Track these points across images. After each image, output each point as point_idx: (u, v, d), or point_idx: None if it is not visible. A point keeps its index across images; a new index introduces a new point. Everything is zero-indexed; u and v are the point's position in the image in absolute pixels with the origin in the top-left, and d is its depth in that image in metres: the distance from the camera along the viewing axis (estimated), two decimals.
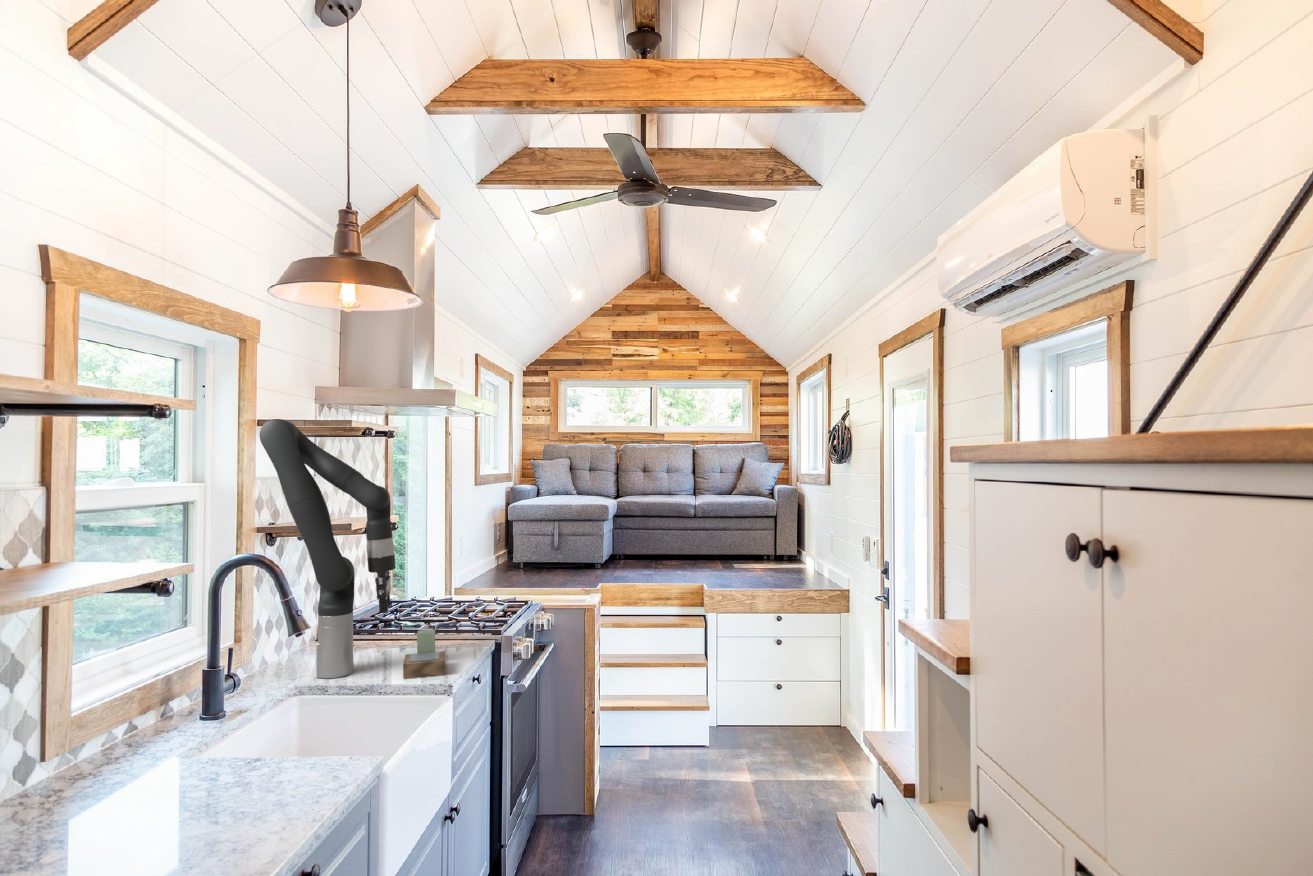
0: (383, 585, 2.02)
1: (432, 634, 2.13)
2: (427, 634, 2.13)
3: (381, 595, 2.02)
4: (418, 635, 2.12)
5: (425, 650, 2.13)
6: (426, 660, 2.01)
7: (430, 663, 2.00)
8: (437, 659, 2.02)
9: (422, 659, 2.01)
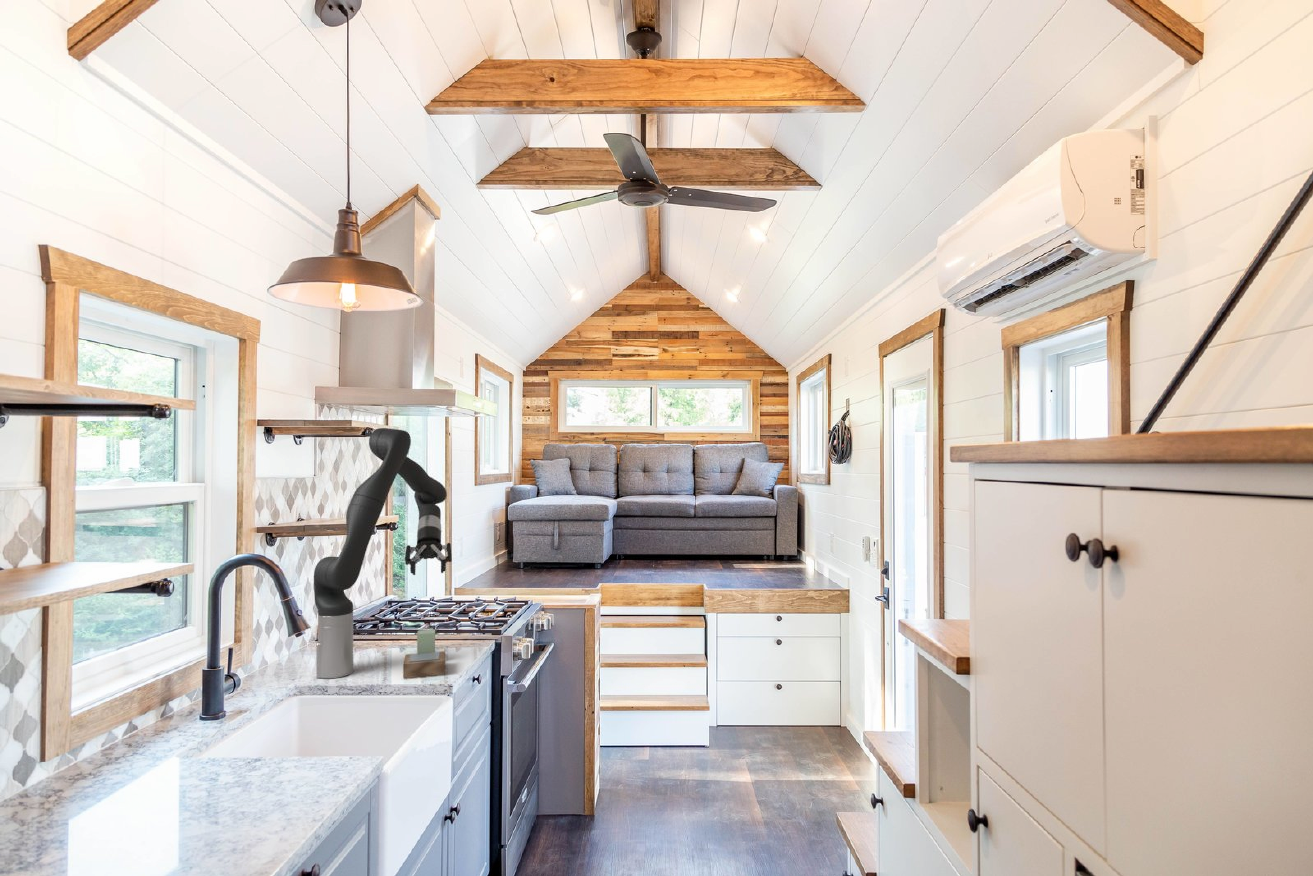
0: None
1: (432, 634, 2.13)
2: (427, 634, 2.13)
3: None
4: (418, 635, 2.12)
5: (425, 650, 2.13)
6: (426, 660, 2.01)
7: (430, 663, 2.00)
8: (437, 659, 2.02)
9: (422, 659, 2.01)
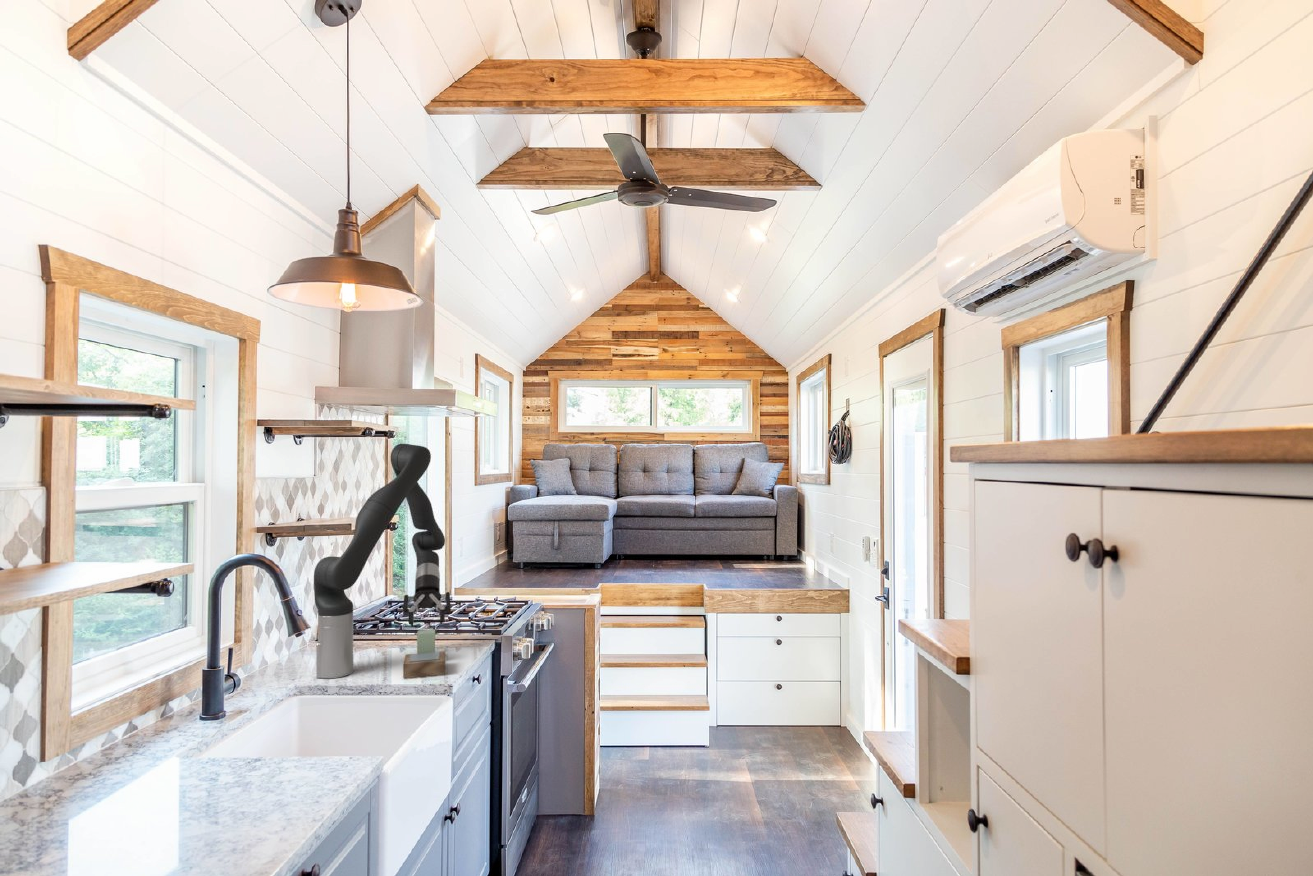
0: None
1: (432, 634, 2.13)
2: (427, 634, 2.13)
3: None
4: (418, 635, 2.12)
5: (425, 650, 2.13)
6: (426, 660, 2.01)
7: (430, 663, 2.00)
8: (437, 659, 2.02)
9: (422, 659, 2.01)
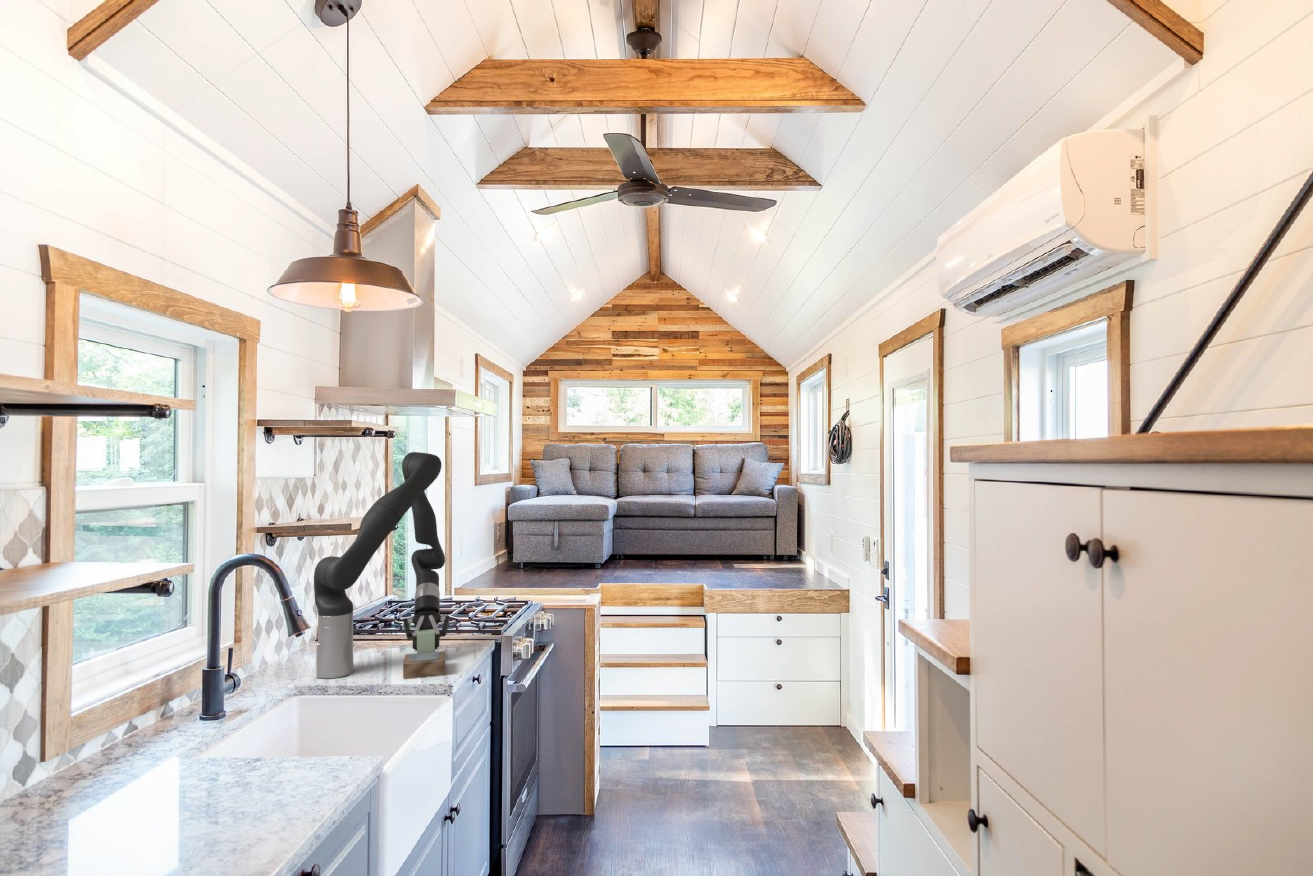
0: None
1: (432, 634, 2.13)
2: (427, 634, 2.13)
3: None
4: (418, 635, 2.12)
5: (425, 650, 2.13)
6: (426, 660, 2.01)
7: (430, 663, 2.00)
8: (437, 659, 2.02)
9: (422, 659, 2.01)
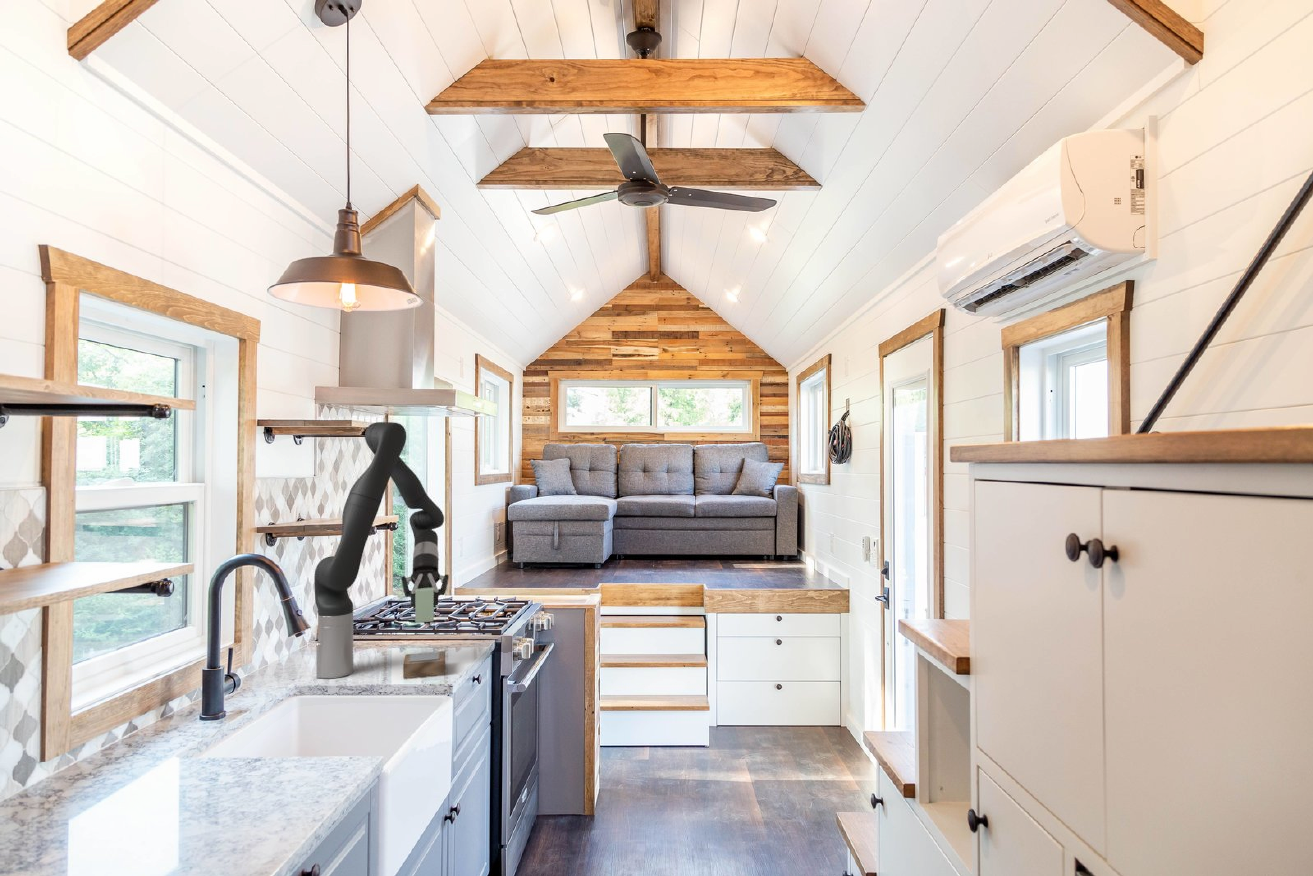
0: (447, 584, 2.16)
1: (431, 591, 2.09)
2: (426, 591, 2.08)
3: None
4: (416, 592, 2.08)
5: (424, 607, 2.08)
6: (426, 660, 2.01)
7: (430, 663, 2.00)
8: (437, 659, 2.02)
9: (422, 659, 2.01)
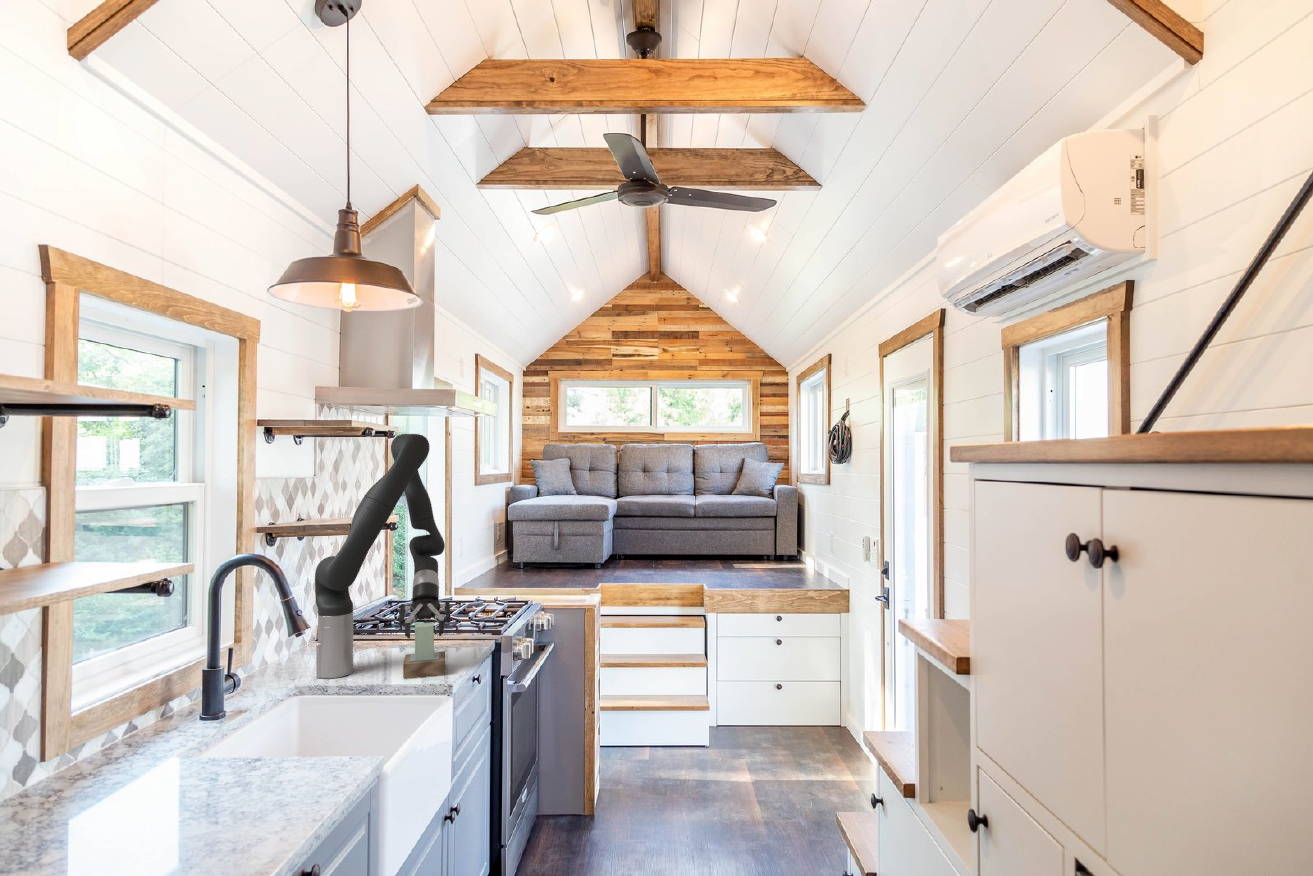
0: None
1: (431, 627, 2.03)
2: (425, 627, 2.03)
3: None
4: (416, 628, 2.02)
5: (424, 644, 2.02)
6: (426, 660, 2.01)
7: (430, 663, 2.00)
8: (437, 659, 2.02)
9: (422, 659, 2.01)
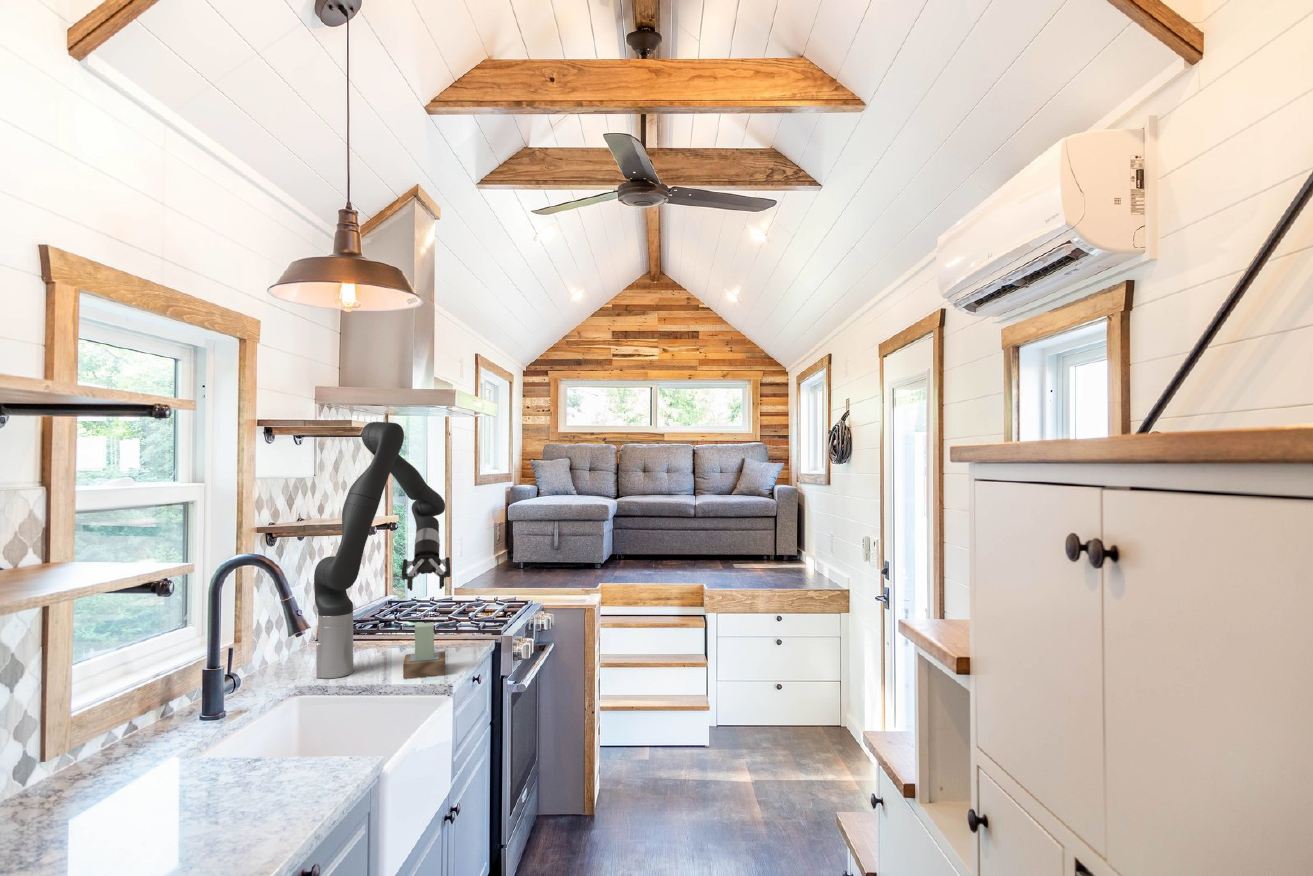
0: None
1: (431, 627, 2.03)
2: (425, 627, 2.03)
3: None
4: (416, 628, 2.02)
5: (424, 644, 2.02)
6: (426, 660, 2.01)
7: (430, 663, 2.00)
8: (437, 659, 2.02)
9: (422, 659, 2.01)
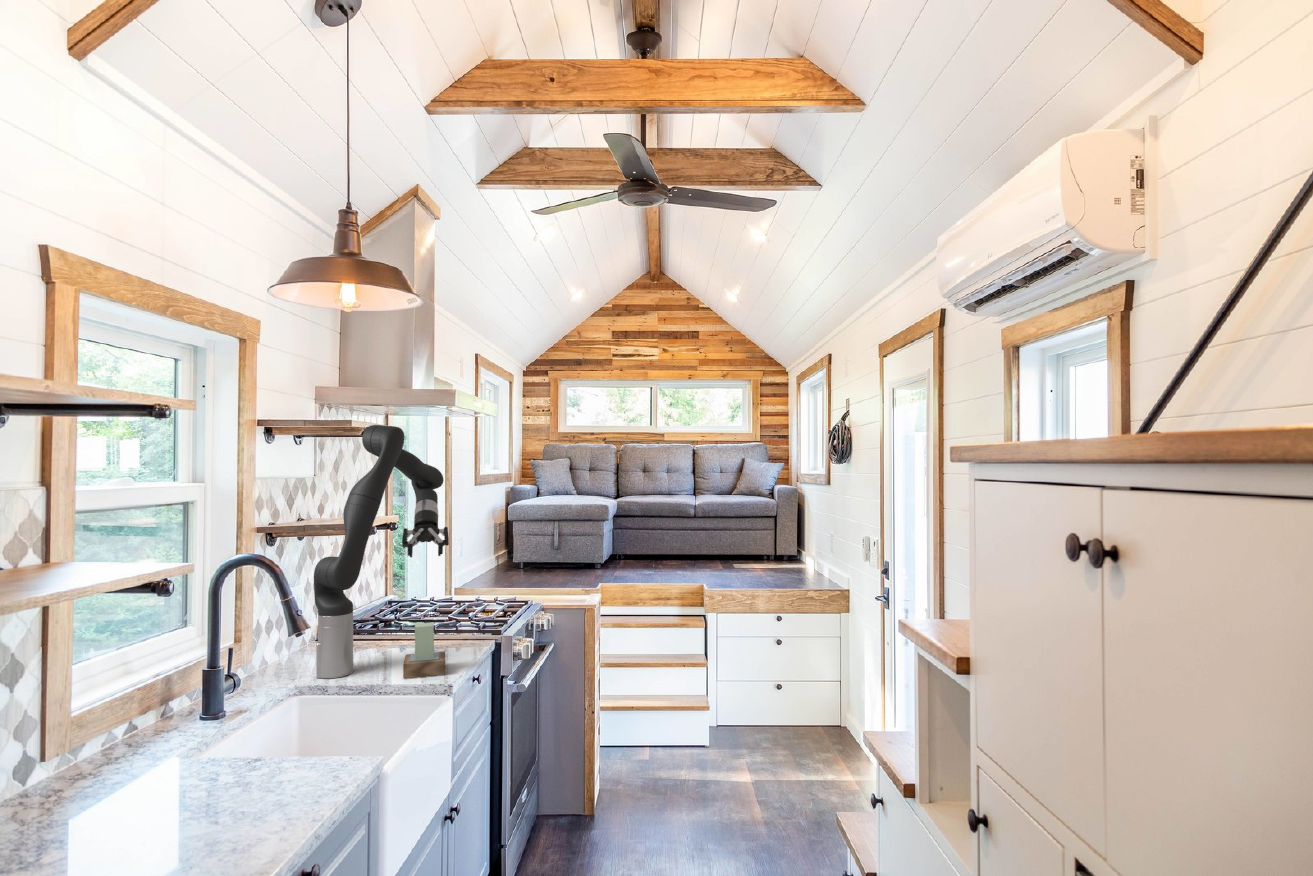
0: None
1: (431, 627, 2.03)
2: (425, 627, 2.03)
3: None
4: (416, 628, 2.02)
5: (424, 644, 2.02)
6: (426, 660, 2.01)
7: (430, 663, 2.00)
8: (437, 659, 2.02)
9: (422, 659, 2.01)
